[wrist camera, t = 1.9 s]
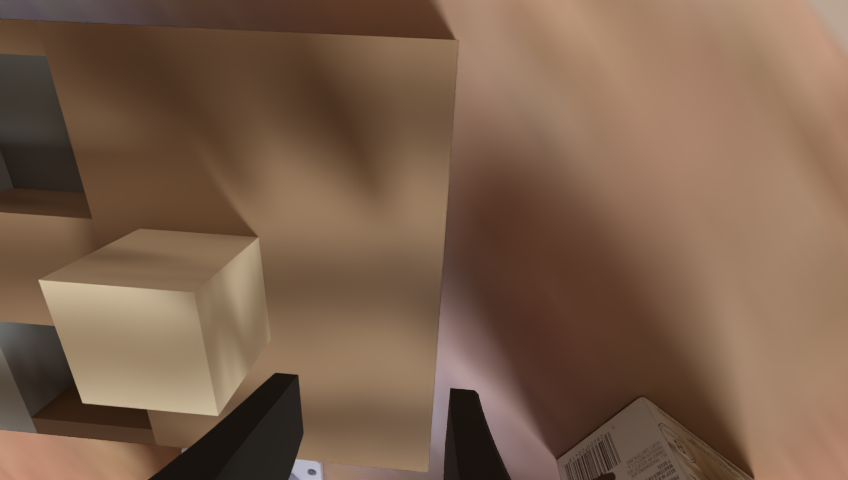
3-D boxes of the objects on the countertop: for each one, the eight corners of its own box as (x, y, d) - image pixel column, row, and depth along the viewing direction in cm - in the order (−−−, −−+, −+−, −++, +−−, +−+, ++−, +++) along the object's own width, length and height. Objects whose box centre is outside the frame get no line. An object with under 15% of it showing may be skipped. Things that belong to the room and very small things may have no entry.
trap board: (431, 421, 22) (428, 472, 19) (-98, 371, 23) (-172, 412, 21) (458, 45, 15) (458, 40, 12) (-301, 9, 16) (-456, -3, 14)
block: (270, 339, 17) (218, 416, 13) (163, 330, 17) (82, 403, 13) (258, 237, 15) (194, 292, 11) (139, 228, 15) (38, 279, 12)
